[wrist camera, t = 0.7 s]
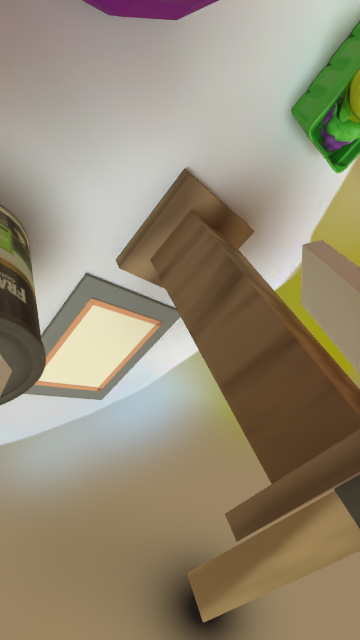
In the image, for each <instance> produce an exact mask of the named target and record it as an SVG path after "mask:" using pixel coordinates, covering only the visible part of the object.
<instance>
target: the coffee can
mask: <svg viewBox="0 0 360 640" xmlns="http://www.w3.org/2000/svg"><path fill="white" fill-rule="evenodd" d="M0 355H1V356H2V357H3V359H4V360H5V361H6V363H7V364H8V366H9V367H10V368H11V370H12V373H11V375H10V377H9V379H8V381H7V383H6V385H5V387H4V389H3V392H2V394H1V396H0V405H2V404H5V403H7V402H9V401H11V400H13V399H15V398H17V397H18V396H20V395H22V394H23V393H25V392H26V391H28V390H29V389H30V388H31V387H32V386H33V385H34V384H35V383H36V382H37V381H38V380H39V379H40V377H41V375H42V373H43V371H44V368H45V364H46V354H45V349H44V345H43V343H42V341H41V335H40V327H39V320H38V311H37V304H36V297H35V290H34V282H33V275H32V268H31V259H30V246H29V241H28V238H27V235H26V233H25V231H24V229H23V227H22V226H21V224H20V223H19V222H18V221H17V219H15V218H14V217H13V216H12V215H11V214H10V213H9V212H8V211H7V210H5V209H4V208H2V207H1V206H0Z"/></svg>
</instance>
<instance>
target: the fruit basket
mask: <svg viewBox="0 0 360 640" xmlns="http://www.w3.org/2000/svg"><path fill="white" fill-rule="evenodd" d="M292 114H293V115H294V116H295V118H296V119H297V120H298V122H299V123H300V125H301V126H302V127H303V129H304V130H305V131H306V133H307V135H308V137H309V138H310V139H311V140H312V142H313V143H314V144H315V146H316V147H317V148H318V150H319V151H320V152H321V154H322V155H323V156H324V158H325V159H326V160H327V162H328V163H329V165H330V166H331V167H332V169H333V170H334V171H335V172H336V173H340V172H342V171H344V170H345V169H346V168H347V167H348V166H349V165H350V164H351V163H352V162H353V160H354V159H355V158H356V157H357V156H358V155H359V154H360V22H359V23H358V25H357V26H356V27H355V28H354V30H353V32H352V34H351V37H349V38H348V39H347V40H346V41H345V42H344V43H343V44H342V45H341V47H340V48H339V49H338V50H337V52H336V53H335V54H334V56H333V57H332V58H331V60H330V62H329V65H328V66H326V67H325V68H324V69H323V70H322V71H321V73H320V74H319V75H318V76H317V78H316V79H315V80H314V82H313V83H312V84H311V86H310V88H309V89H308V92H307V93H305V94H304V95H303V96H302V97H301V98H300V100H299V101H298V102H297V104H296V105H295V106H294V107H293V109H292Z"/></svg>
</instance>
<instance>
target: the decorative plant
mask: <svg viewBox="0 0 360 640" xmlns="http://www.w3.org/2000/svg"><path fill="white" fill-rule="evenodd" d="M83 1H85V2H86V3H88V4H90V5H92V6H94V7H95V8H97V9H99V10H101V11H103V12H105V13H106V14H108V15H112V16H122V17H137V18H152V19H167V20H178V19H180V18H182V17H184V16H186V15H188V14H191V13H193V12H195V11H197V10H199V9H201V8H203V7H205V6H208V5H210V4H212V3H214V2H216V1H218V0H83Z"/></svg>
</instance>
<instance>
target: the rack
mask: <svg viewBox="0 0 360 640" xmlns="http://www.w3.org/2000/svg"><path fill="white" fill-rule="evenodd" d="M253 233H254V230H253V229H252V228H251V227H250V226H249V225H248V224H246V223H245V222H244V221H243V220H242V219H241V218H240V217H238V216H237V215H236V214H235V213H234V212H233V211H232V210H230V209H229V208H228V207H227V206H226V205H225V204H224V203H223V202H221V201H220V200H219V199H218V198H217V197H216V196H215V195H213V194H212V193H211V192H210V191H209V190H208V189H207V188H206V187H204V186H203V185H202V184H201V183H200V182H199V181H198V180H196V179H195V178H194V177H193V176H192V175H191V174H190V173H189V172H187V171H186V170H185V169H184V170H183V172H182V173H181V174H180V176H179V177H178V178H177V180H176V181H175V182H174V184H173V185H172V186H171V188H170V189H169V190H168V192H167V193H166V194H165V196H164V197H163V198H162V200H161V201H160V202H159V204H158V205H157V206H156V208H155V209H154V210H153V211H152V213H151V214H150V215H149V217H148V218H147V219H146V221H145V222H144V223H143V225H142V226H141V227H140V229H139V230H138V231H137V233H136V234H135V235H134V237H133V238H132V239H131V241H130V242H129V243H128V245H127V246H126V247H125V249H124V250H123V251H122V253H121V254H120V255H119V257H118V258H117V259H116V262H117V264H118V266H119V268H120V269H122V270H125V271H127V272H129V273H131V274H134V275H136V276H138V277H140V278H143V279H145V280H147V281H149V282H151V283H154V284H156V285H158V286H160V287H163V288H165V289H166V290H167V292H168V294H169V296H170V298H171V300H172V301H173V303H174V305H175V307H176V309H177V311H178V312H179V314H180V316H181V318H182V320H183V322H184V323H185V325H186V327H187V329H188V331H189V333H190V334H191V336H192V338H193V340H194V342H195V344H196V345H197V347H198V349H199V351H200V353H201V355H202V356H203V358H204V360H205V362H206V364H207V366H208V368H209V369H210V371H211V373H212V375H213V377H214V379H215V380H216V382H217V384H218V386H219V388H220V389H221V391H222V393H223V395H224V397H225V399H226V401H227V402H228V404H229V406H230V408H231V410H232V412H233V413H234V415H235V417H236V419H237V421H238V423H239V424H240V426H241V428H242V430H243V432H244V434H245V435H246V437H247V439H248V441H249V443H250V445H251V447H252V448H253V450H254V452H255V454H256V456H257V457H258V460H259V461H260V463H261V465H262V467H263V469H264V471H265V472H266V474H267V476H268V478H269V480H270V482H271V483H272V485H270V486H268V487H267V488H265V489H264V490H262V491H260V492H259V493H257V494H256V495H254V496H253V497H251V498H249V499H248V500H246V501H245V502H243V503H241V504H240V505H238V506H237V507H235V508H234V509H232V510H230V511H229V512H227V513H226V514H225V515H226V518H227V520H228V522H229V525H230V527H231V529H232V531H233V533H234V536H235V539H236V541H240V540H242V539H244V538H246V537H248V536H251V535H253V534H255V533H257V532H259V531H262V530H264V529H266V528H268V527H270V526H273V525H274V524H276V523H278V522H280V521H281V520H283V519H285V518H287V517H289V516H290V515H292V514H294V513H296V512H297V511H299V510H301V509H303V508H305V507H306V506H308V505H310V504H312V503H313V502H315V501H317V500H319V499H321V498H322V497H324V496H326V495H328V494H329V493H331V492H333V491H335V490H334V488H336V487H338V486H340V485H341V484H343V483H345V482H347V481H349V480H350V479H352V478H354V477H356V476H357V475H359V474H360V389H359V388H358V387H357V386H356V385H355V383H354V382H353V381H352V380H351V379H350V378H349V377H348V375H347V374H346V373H345V372H344V371H343V370H342V369H341V367H340V366H339V365H338V364H337V363H336V361H334V359H333V358H332V357H331V356H330V355H329V353H327V351H326V350H325V349H324V348H323V347H322V345H321V344H320V343H319V342H318V341H317V340H316V338H315V337H314V336H313V335H312V334H311V333H310V332H309V331H308V329H307V328H306V327H305V326H304V325H303V324H302V322H301V321H300V320H299V319H298V318H297V317H296V316H295V314H294V313H293V312H292V311H291V310H290V309H289V307H288V306H287V305H286V304H285V303H284V302H283V300H282V299H281V298H280V297H279V296H278V295H277V294H276V292H275V291H274V290H273V289H272V288H271V287H270V286H269V284H268V283H267V282H266V281H265V280H264V279H263V277H262V276H261V275H260V274H259V273H258V272H257V271H256V269H255V268H254V267H253V266H252V265H251V264H250V263H249V261H248V260H247V259H246V258H245V257H244V256H243V254H242V253H241V252H240V251H239V250H238V249H239V247H240V246H241V245H242V244H243V243H244V242H245V241H246V240H247V239H248V238H249V237H250V236H251V235H252V234H253Z"/></svg>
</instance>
